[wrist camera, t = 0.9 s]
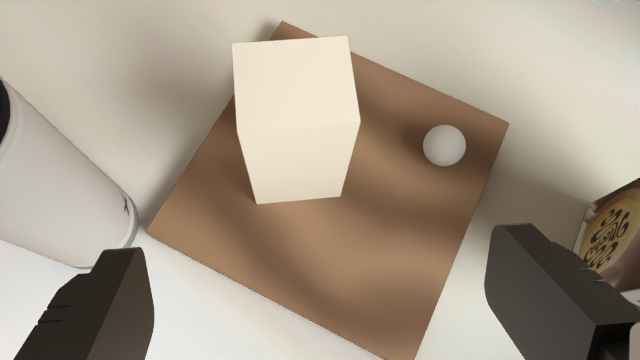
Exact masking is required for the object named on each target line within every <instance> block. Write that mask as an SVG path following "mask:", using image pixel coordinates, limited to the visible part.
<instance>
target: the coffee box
mask: <svg viewBox="0 0 640 360" xmlns="http://www.w3.org/2000/svg"><path fill="white" fill-rule="evenodd" d="M572 252H574V253H576V254H577V255H578V256H579V257H580V258H581V259H583V260H584V261H585V262H586V263H587V264H588V265H589V266H590V267H591V269H592V270H595V271H596V272H597V273H598V274H599V275H600V276H601V277H603V278H604V281H605V282H608V283H609V284H610V285H611V286H613V287H614V288H615V289H616V290H617V291H618V292H619V293H620V294H621V295H622V296H624V297H625V298H626V299H627V300H628V301H629V302H630V303H631V304H632V305H634V306H635V307H636V308H637V309H638V310H639V311H640V178H638V179H636V180H634V181H632V182H631V183H629V184H627V185H625V186H623V187H621V188H619V189H617V190H615V191H614V192H612V193H610V194H608V195H606V196H604V197H602V198H600V199H598V200H596V201H594V202H592V203H590V204H589V205H588V208H587V211H586V213H585V216H584V219H583V222H582V225H581V228H580V231H579V234H578V237H577V240H576V242H575V245H574V248H573V251H572Z"/></svg>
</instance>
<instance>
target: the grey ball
mask: <svg viewBox="0 0 640 360" xmlns="http://www.w3.org/2000/svg"><path fill="white" fill-rule="evenodd" d="M465 149H466V142H465V138H464V136H463V134H462V133H461V132H460V131H459V130H458V129H457V128H455V127H453V126H450V125H439V126H436V127H434V128H433V129H431V130H430V131H429V132H428V133H427V135H426V136H425V138H424V142H423V150H424V154H425V156H426V157H427V159H428V160H429V161H430V162H432V163H433V164H435V165H438V166H450V165H453V164H455V163H457V162H458V161H459V160H460V159H461V158H462V156H463V155H464V152H465Z"/></svg>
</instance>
